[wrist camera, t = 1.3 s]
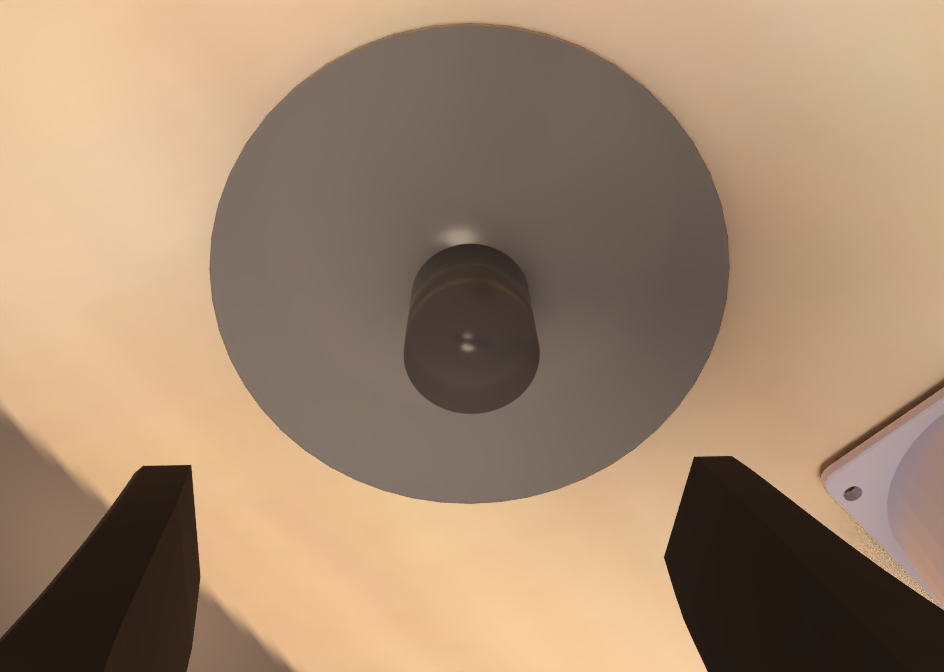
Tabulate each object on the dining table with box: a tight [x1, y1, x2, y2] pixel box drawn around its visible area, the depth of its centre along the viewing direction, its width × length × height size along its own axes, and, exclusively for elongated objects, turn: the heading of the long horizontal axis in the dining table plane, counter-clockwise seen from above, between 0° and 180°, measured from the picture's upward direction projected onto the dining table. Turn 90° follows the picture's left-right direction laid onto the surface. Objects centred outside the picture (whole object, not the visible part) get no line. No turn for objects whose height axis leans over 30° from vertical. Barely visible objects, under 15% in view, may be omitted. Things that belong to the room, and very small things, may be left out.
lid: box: [210, 23, 729, 504], centre depth 20 cm, size 13×13×4 cm
